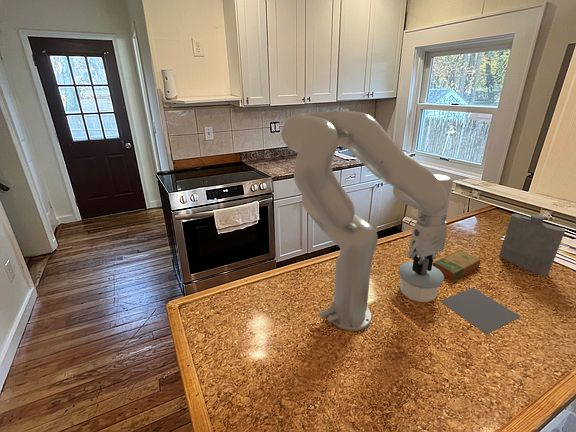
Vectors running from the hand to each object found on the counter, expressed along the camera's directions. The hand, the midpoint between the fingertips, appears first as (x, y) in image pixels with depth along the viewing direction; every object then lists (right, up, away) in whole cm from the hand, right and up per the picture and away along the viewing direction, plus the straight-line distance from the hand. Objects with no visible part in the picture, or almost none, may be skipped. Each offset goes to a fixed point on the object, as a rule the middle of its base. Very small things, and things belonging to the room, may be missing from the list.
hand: (421, 269), depth 95 cm
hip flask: (+44, -1, +16) cm, 47 cm away
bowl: (0, -8, +4) cm, 9 cm away
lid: (0, -2, +1) cm, 2 cm away
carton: (+19, -3, +15) cm, 24 cm away
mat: (+15, -11, -4) cm, 19 cm away
